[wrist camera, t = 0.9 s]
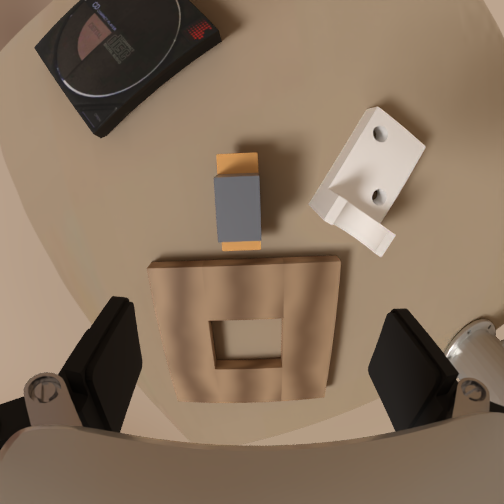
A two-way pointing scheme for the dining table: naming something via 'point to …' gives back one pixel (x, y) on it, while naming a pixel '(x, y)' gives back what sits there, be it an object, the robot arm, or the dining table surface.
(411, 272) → the dining table surface
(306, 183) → the dining table surface
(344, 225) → the bracket
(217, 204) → the block
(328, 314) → the plate
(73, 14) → the portable cd player
